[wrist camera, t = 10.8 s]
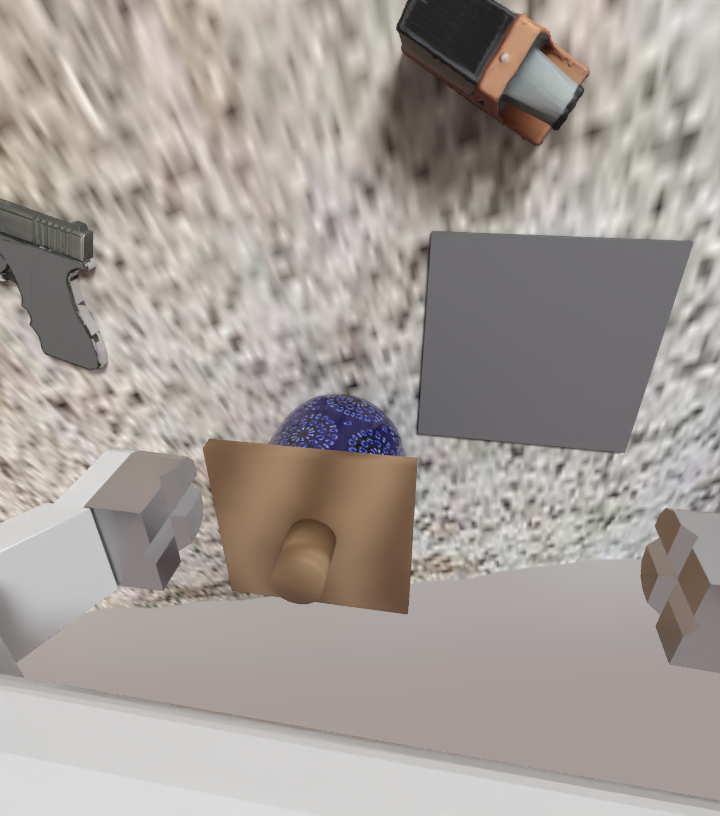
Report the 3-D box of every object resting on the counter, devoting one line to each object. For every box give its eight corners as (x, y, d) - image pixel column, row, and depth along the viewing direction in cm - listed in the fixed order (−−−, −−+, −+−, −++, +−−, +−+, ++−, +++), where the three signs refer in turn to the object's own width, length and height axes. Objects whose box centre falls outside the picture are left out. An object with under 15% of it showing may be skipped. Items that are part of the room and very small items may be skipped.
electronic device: (536, 147, 32) (553, 161, 25) (398, 54, 30) (380, 45, 24) (588, 70, 29) (621, 65, 23) (442, -34, 28) (434, -70, 22)
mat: (691, 241, 33) (693, 242, 32) (623, 449, 41) (624, 452, 41) (431, 231, 35) (431, 232, 35) (418, 430, 43) (417, 433, 43)
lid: (417, 457, 31) (410, 516, 27) (408, 602, 38) (401, 667, 34) (209, 438, 33) (172, 490, 29) (236, 579, 40) (210, 638, 36)
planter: (259, 419, 46) (206, 506, 36) (353, 352, 41) (320, 432, 31) (341, 501, 49) (312, 600, 40) (437, 448, 44) (430, 547, 35)
